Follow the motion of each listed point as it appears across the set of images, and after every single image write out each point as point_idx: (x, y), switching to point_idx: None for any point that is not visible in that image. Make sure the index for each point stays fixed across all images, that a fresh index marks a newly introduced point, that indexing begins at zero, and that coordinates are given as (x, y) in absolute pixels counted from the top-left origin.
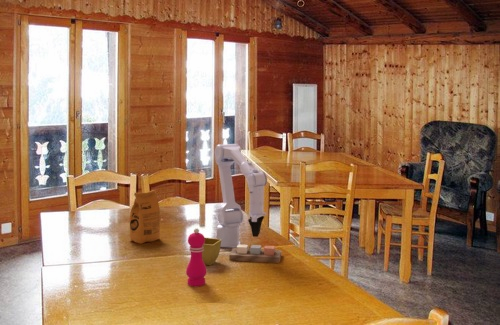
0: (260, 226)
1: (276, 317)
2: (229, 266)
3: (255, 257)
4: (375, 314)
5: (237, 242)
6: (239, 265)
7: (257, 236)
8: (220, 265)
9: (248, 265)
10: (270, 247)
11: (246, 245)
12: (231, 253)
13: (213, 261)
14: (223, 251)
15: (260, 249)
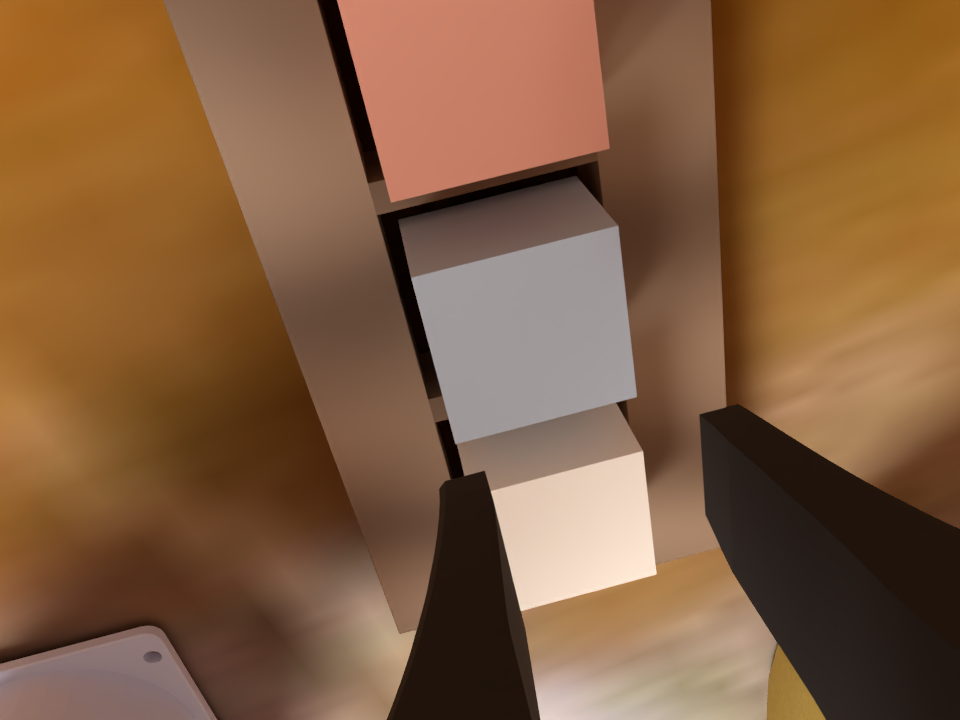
0: (509, 624)
1: None
2: (939, 398)
3: (710, 205)
4: None
5: (69, 706)
6: (890, 314)
7: (749, 414)
8: (909, 491)
9: (878, 207)
10: (492, 26)
11: (523, 498)
12: (667, 548)
13: None
14: (380, 678)
15: (558, 221)
